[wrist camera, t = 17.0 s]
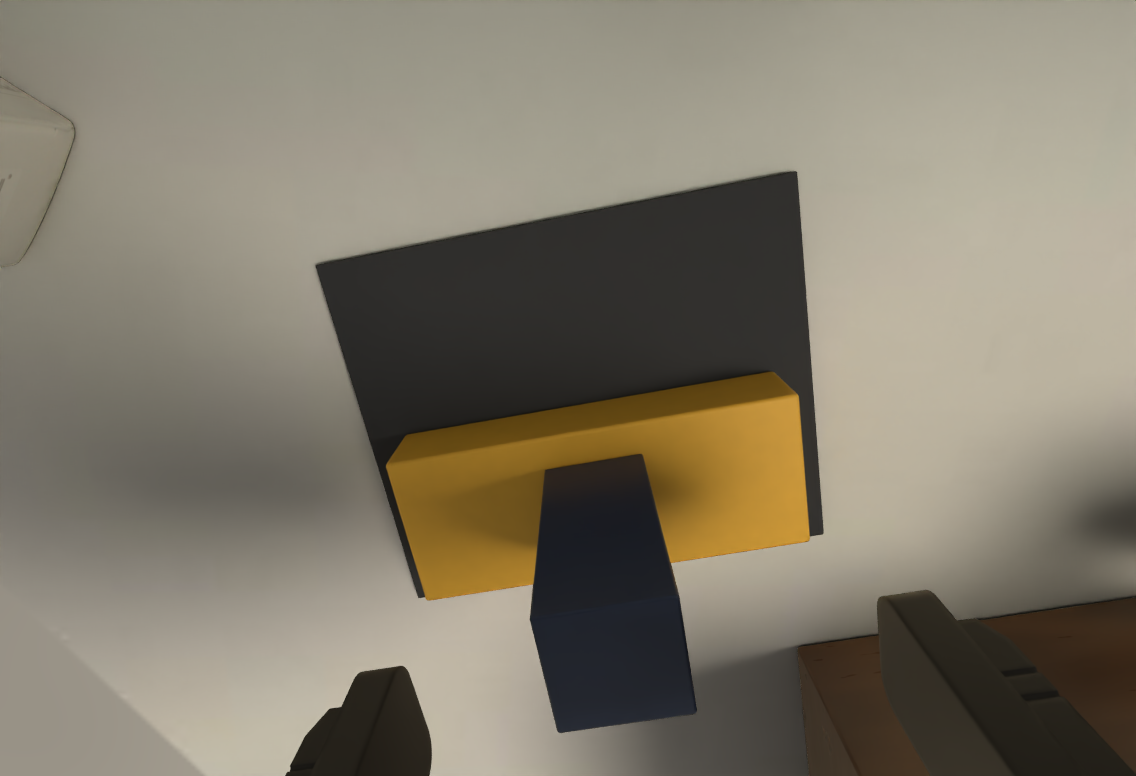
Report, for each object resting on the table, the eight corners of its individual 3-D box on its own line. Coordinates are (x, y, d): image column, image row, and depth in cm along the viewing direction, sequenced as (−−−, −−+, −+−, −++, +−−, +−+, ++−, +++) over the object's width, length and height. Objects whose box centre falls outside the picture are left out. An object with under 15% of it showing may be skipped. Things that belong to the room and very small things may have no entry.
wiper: (773, 369, 16) (926, 511, 9) (785, 503, 18) (929, 720, 11) (404, 433, 17) (284, 612, 10) (440, 559, 18) (355, 798, 11)
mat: (793, 170, 15) (797, 170, 15) (820, 529, 18) (824, 534, 18) (319, 264, 16) (315, 265, 16) (420, 592, 19) (418, 598, 19)
